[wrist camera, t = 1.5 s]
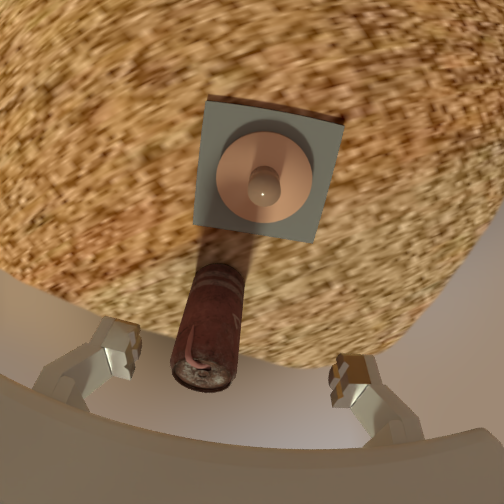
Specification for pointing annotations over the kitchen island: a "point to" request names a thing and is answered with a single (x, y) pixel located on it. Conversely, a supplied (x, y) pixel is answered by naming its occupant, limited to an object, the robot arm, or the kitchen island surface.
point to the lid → (264, 177)
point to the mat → (260, 119)
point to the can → (210, 331)
